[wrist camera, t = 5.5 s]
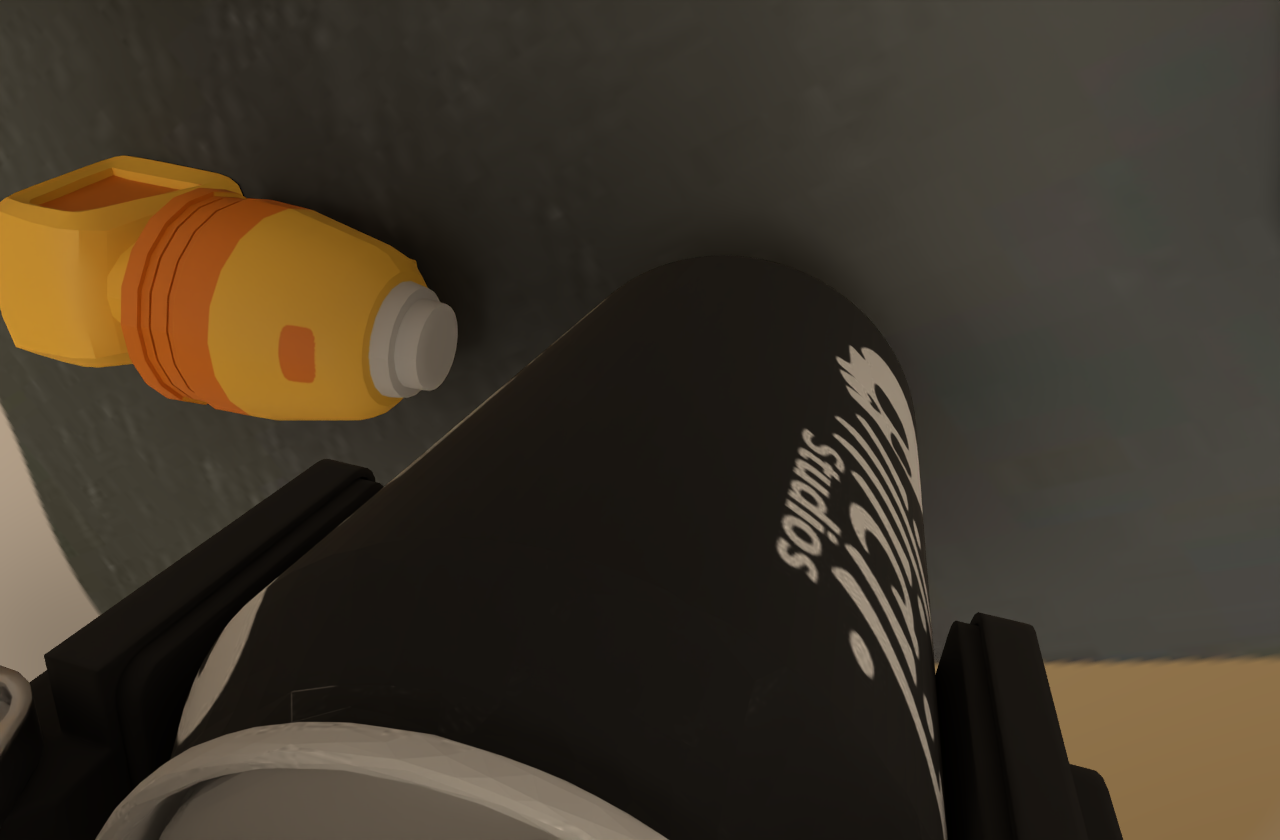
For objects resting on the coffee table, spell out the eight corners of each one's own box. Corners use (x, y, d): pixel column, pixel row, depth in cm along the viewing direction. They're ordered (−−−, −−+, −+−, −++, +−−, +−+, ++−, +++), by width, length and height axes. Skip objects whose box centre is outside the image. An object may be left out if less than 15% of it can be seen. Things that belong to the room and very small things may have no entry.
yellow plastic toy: (497, 217, 22) (101, 143, 24) (381, 256, 17) (-103, 159, 19) (485, 412, 24) (122, 327, 26) (379, 498, 19) (-57, 384, 21)
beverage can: (971, 506, 16) (1149, 1445, 5) (666, 604, 18) (357, 1362, 8) (820, 178, 14) (623, 531, 4) (511, 336, 17) (-135, 811, 6)
